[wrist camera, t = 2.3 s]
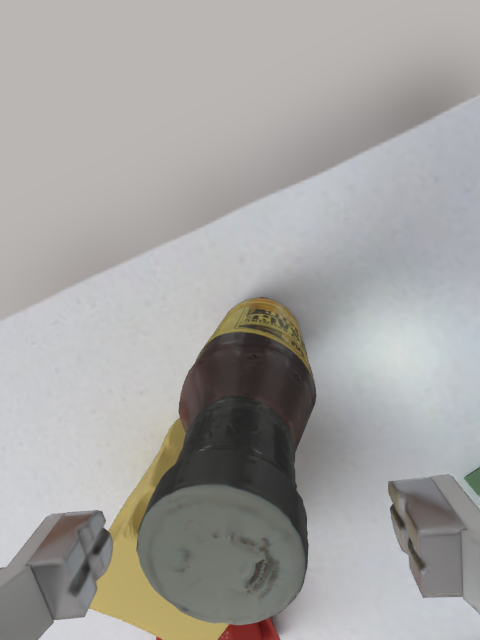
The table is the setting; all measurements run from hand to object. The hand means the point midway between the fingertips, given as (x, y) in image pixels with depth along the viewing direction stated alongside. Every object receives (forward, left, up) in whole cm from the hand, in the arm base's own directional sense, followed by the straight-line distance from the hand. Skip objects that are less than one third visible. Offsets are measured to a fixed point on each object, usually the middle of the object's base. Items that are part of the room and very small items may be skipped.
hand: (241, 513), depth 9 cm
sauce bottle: (0, 0, -18) cm, 18 cm away
